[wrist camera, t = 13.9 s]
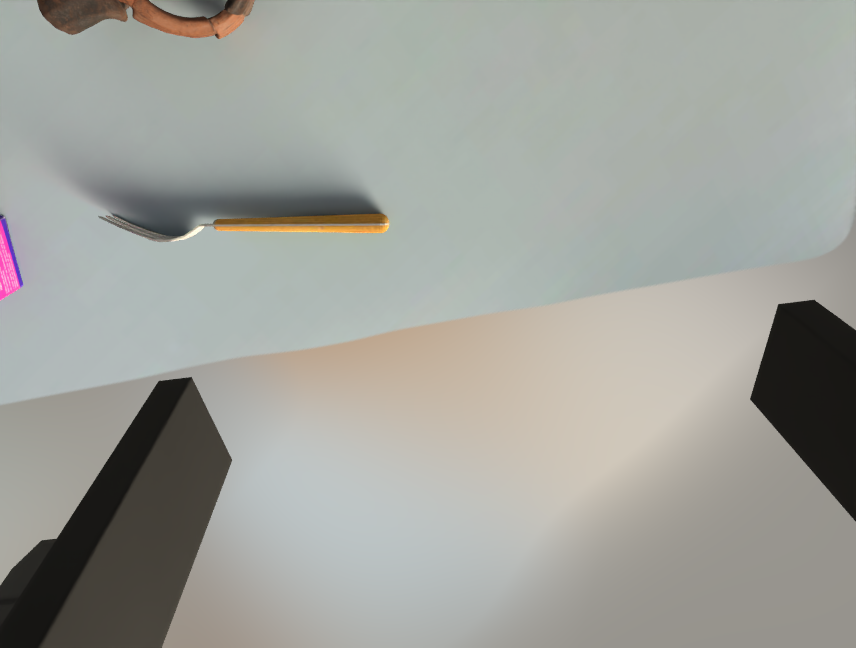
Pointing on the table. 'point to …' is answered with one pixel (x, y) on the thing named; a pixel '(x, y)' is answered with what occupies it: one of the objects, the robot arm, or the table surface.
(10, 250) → the supplement box
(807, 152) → the table surface
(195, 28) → the broken brown clay pot
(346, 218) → the fork
